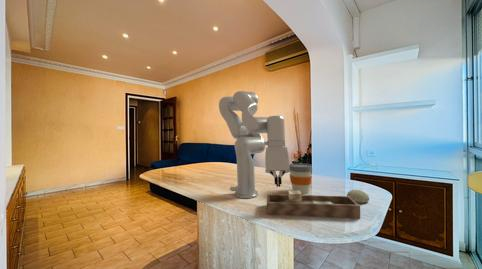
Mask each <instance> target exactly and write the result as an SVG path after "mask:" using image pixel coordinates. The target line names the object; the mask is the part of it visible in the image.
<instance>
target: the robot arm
mask: <svg viewBox="0 0 482 269" xmlns="http://www.w3.org/2000/svg"><path fill="white" fill-rule="evenodd" d="M258 103H259V97H258V95H257V94H256V92H253V91H245V90H239V91H236V92H234V94H233V95H232V96H229V95H227V96H223V97H221V98H220V99H219V102H218V109H219V114H220V115H221V117H222V118H223V120H224V121H225V123H226V125H227V128H228V129H229V132H230V134H231V136H232V138H233V139H236V140H235V142H234V150H235V155H236V171H237V172H236V174H237V177H236V178H237V182H236V183H237V185H236V186H230V187H229V190H230V191H231V192H234V196H235V197H237V198H239V199H252V198H255V197H257V196H258V195H259V192H258V190H256V182H255V181H256V180H255V179H256V178H255V177H256V175H255V174H256V172H255V161H254V159H253V158H252V155H255V154H262V153H264V151H265V162H264V164H265V173H266V174H271V176H272V177H273V180H274V185H276V187H277V188H280V187H281V185H282V177H283V176H284V175H285V174H288V173H289V174H290V169H289V165H290V155H289V149H288V146H286V134H285V133H286V132H285V130H286V129H285V118H284V116H282V115H270V116H254V115H255V114H256V113H257V111H258V108H259V107H258ZM236 112H241V118H240V116H239V115H238V114H237V113H236ZM262 134H267V136H266V138H267V141H265V139H264V138H263V135H262ZM266 146H267V147H266ZM277 172H279V174H278V175H277Z"/></svg>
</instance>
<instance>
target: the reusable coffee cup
mask: <svg viewBox="0 0 482 269" xmlns="http://www.w3.org/2000/svg"><path fill="white" fill-rule="evenodd" d="M289 169H290V172H289V179H290V183H291V187H292V189H291V190H297V191H300V192H301V194H302V195H308V194H310V187H311V184H312V180H313V178H312V177H313V176H312V172H313V165H312V164H309V163H305V162H304V163H301V162H299V163H296V162H295V163H289Z"/></svg>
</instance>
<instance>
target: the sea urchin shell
mask: <svg viewBox="0 0 482 269" xmlns="http://www.w3.org/2000/svg"><path fill="white" fill-rule="evenodd" d="M346 196H350V197H351V198H352V199H353V200H354V201H355V202H356V203H358V204H363V203H368V202H369V201H370V196H369V194H367V193H366V192H365V191H363V190H360V189H351V190H349V191H348V192H347V194H346Z"/></svg>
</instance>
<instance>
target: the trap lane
mask: <svg viewBox="0 0 482 269" xmlns="http://www.w3.org/2000/svg"><path fill="white" fill-rule="evenodd" d="M266 215H267V216H268V215H271V216H289V217H290V216H292V217H313V218H315V217H316V218H318V217H319V218H337V219H339V218H340V219H361V205H360V203H357V202H355V201H354V200H353V199H352V198H351V197H350V196H347V195H317V194H316V195H312V194H310V195H309V194H302V203H289V194H270V193H269V194H268V193H267V197H266Z"/></svg>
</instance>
